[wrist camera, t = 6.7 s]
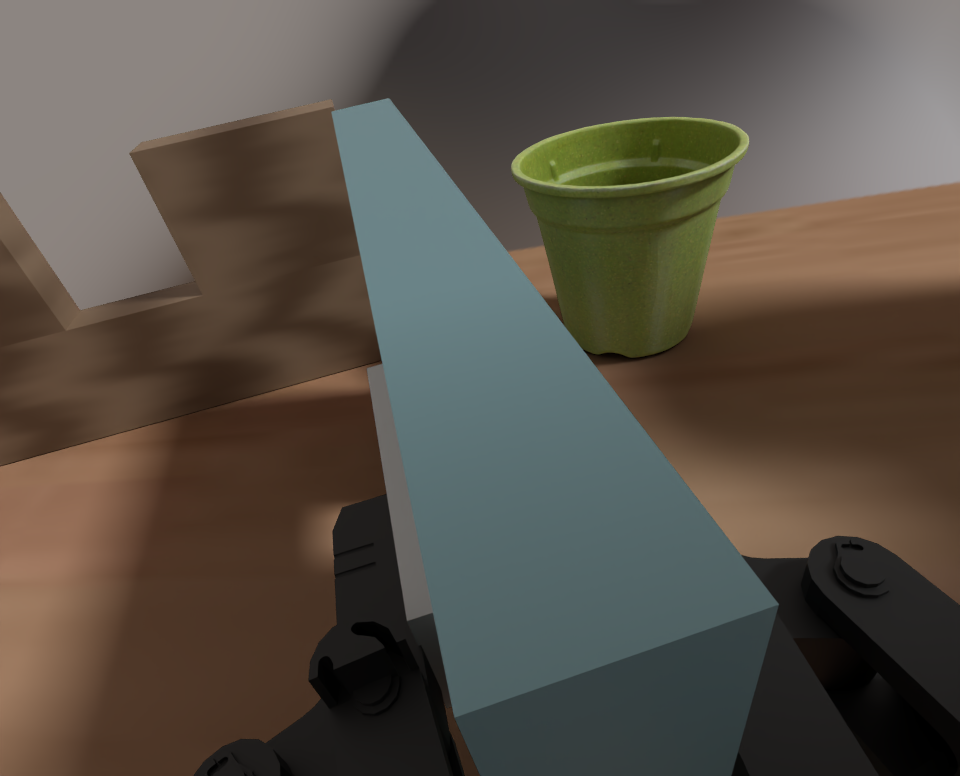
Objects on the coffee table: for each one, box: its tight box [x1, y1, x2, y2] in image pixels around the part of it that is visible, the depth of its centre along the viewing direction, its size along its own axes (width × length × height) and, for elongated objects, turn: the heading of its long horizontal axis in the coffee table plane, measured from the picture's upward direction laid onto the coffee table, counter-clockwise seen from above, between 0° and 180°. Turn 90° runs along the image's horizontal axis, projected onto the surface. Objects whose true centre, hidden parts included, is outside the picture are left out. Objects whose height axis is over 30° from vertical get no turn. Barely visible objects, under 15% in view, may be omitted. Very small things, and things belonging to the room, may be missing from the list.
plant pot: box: [511, 117, 749, 358], centre depth 26 cm, size 9×9×9 cm
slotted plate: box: [331, 98, 779, 776], centre depth 15 cm, size 2×20×12 cm, turn 14°
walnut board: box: [0, 100, 382, 466], centre depth 26 cm, size 22×2×12 cm, turn 104°
